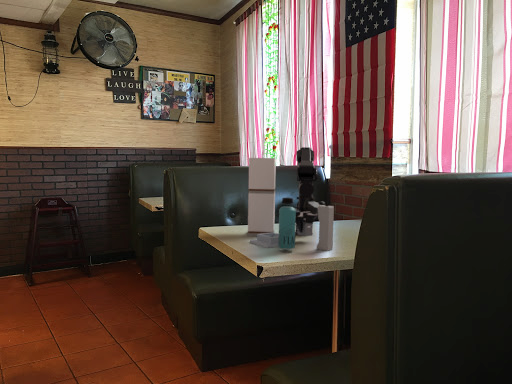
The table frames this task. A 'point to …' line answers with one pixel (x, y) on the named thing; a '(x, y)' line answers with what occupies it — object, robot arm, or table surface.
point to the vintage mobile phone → (325, 226)
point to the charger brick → (306, 229)
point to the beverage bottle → (287, 225)
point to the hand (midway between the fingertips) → (304, 231)
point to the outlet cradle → (266, 240)
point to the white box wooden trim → (261, 195)
